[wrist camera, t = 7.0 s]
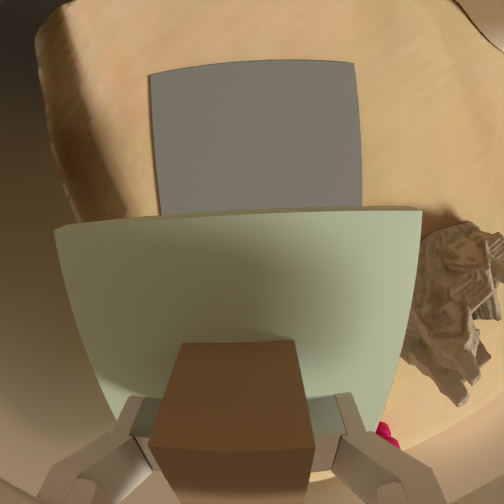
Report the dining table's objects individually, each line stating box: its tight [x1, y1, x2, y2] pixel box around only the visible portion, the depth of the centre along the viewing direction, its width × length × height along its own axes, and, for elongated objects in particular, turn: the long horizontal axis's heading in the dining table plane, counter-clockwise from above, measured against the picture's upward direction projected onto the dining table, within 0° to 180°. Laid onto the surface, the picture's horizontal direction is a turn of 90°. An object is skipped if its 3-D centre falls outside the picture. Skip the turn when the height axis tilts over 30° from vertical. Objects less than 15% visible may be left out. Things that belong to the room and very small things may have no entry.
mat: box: [151, 60, 362, 215], centre depth 24 cm, size 18×18×1 cm
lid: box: [54, 206, 422, 504], centre depth 8 cm, size 11×11×5 cm
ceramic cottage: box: [400, 222, 504, 407], centre depth 22 cm, size 16×16×15 cm
